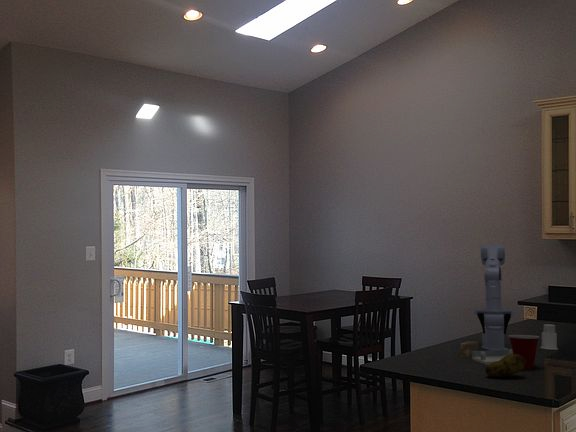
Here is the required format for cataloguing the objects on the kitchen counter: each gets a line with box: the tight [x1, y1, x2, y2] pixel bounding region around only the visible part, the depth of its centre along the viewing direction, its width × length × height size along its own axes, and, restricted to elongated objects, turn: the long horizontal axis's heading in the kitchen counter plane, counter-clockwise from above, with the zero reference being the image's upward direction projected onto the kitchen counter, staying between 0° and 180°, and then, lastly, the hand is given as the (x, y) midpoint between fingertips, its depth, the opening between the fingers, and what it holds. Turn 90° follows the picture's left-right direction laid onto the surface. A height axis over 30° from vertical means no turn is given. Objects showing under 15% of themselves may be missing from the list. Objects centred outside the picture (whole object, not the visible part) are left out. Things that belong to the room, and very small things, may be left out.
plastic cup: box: [507, 334, 541, 371], centre depth 232 cm, size 11×11×12 cm
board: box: [471, 348, 513, 366], centre depth 246 cm, size 11×18×4 cm, turn 102°
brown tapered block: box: [460, 340, 480, 359], centre depth 255 cm, size 4×8×6 cm, turn 137°
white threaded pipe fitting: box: [540, 323, 559, 350], centre depth 268 cm, size 8×7×10 cm
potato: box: [485, 354, 526, 378], centre depth 218 cm, size 8×13×8 cm, turn 68°
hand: (494, 333), depth 247 cm, fingers open, 7 cm apart
